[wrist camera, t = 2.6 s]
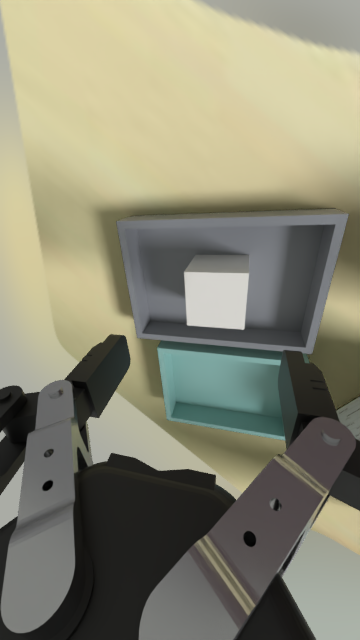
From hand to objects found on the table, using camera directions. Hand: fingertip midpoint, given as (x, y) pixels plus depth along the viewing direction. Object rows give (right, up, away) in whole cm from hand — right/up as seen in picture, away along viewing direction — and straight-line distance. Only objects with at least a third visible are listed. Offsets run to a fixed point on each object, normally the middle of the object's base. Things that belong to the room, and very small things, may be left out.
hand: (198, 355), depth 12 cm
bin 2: (+5, -5, +16) cm, 17 cm away
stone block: (+3, +5, +9) cm, 11 cm away
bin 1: (+3, +6, +10) cm, 12 cm away
